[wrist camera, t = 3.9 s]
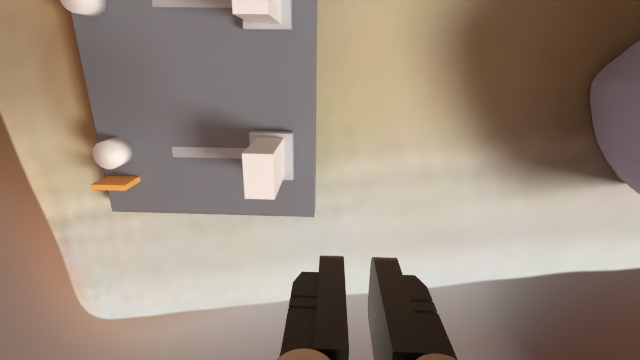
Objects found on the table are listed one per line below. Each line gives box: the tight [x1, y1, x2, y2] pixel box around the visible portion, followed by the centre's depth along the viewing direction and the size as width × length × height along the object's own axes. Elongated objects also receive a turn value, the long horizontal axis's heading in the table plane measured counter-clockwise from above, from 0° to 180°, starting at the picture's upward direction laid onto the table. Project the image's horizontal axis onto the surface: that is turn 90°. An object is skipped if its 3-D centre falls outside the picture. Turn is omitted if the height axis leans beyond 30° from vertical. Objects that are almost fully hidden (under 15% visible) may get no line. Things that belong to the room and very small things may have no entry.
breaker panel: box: [60, 0, 317, 217], centre depth 23 cm, size 16×20×4 cm
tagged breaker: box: [242, 131, 294, 200], centre depth 22 cm, size 3×3×5 cm
